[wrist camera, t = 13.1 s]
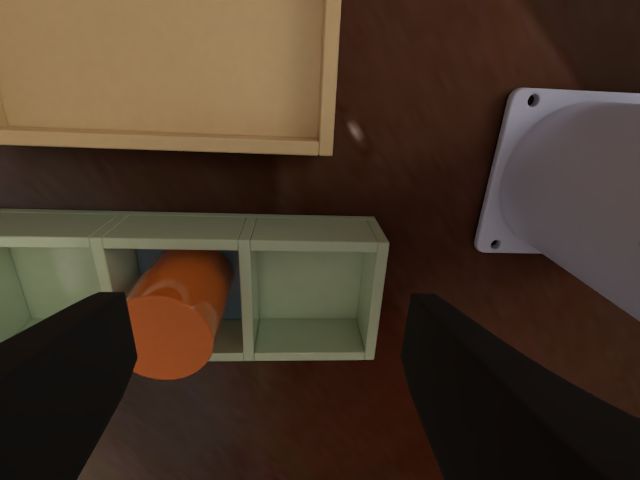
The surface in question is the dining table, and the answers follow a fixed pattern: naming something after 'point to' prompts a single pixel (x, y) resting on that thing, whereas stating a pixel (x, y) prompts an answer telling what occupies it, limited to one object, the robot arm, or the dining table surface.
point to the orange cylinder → (179, 311)
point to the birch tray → (170, 74)
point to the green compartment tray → (243, 256)
